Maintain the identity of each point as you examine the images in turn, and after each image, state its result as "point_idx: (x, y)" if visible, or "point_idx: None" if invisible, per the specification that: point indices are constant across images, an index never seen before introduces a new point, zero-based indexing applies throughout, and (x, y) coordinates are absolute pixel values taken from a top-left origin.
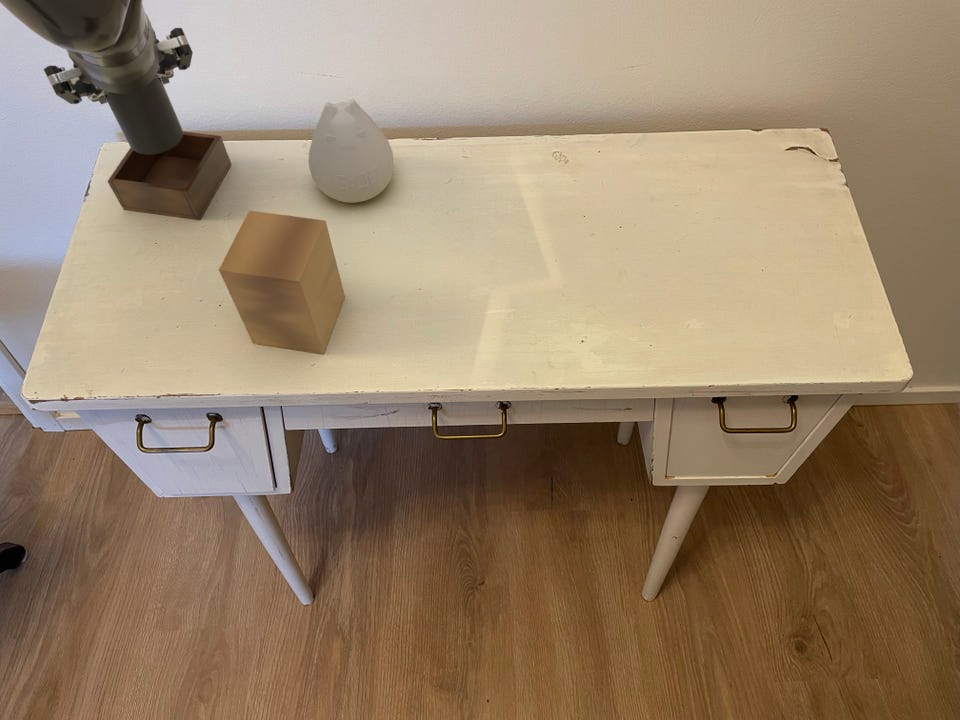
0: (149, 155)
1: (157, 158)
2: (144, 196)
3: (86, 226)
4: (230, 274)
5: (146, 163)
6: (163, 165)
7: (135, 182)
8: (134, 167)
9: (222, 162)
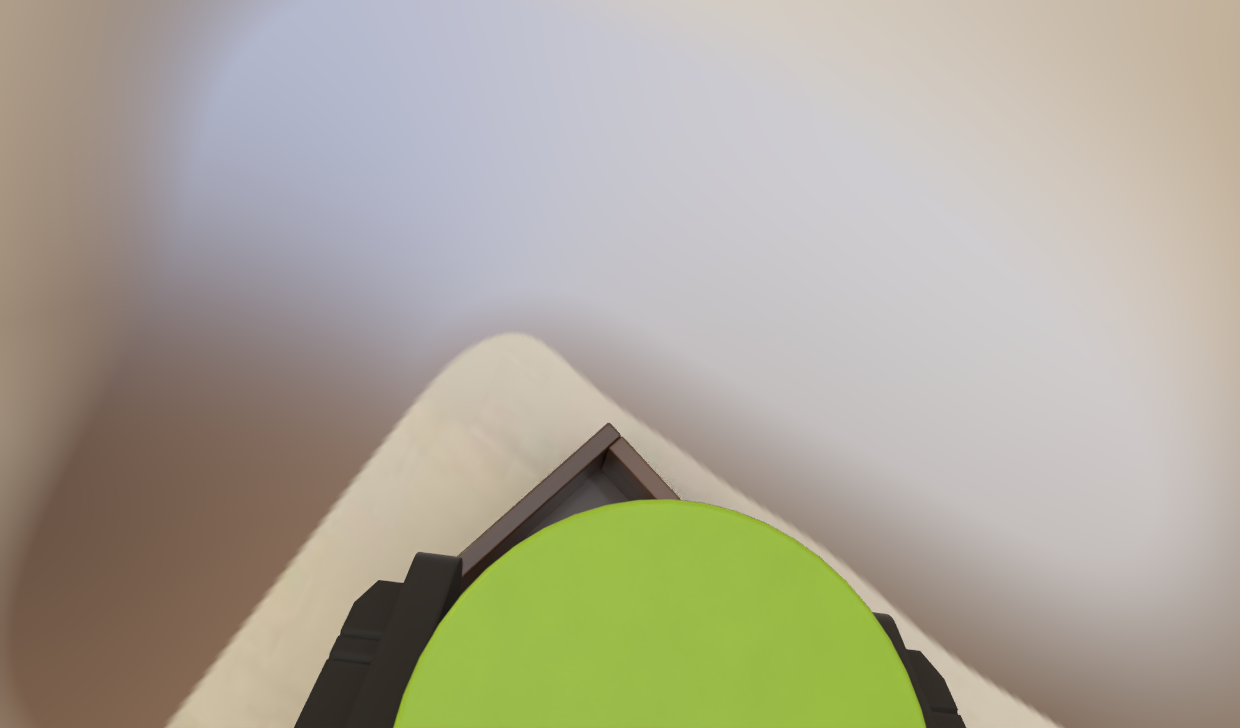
0: (566, 494)
1: (588, 481)
2: None
3: (237, 648)
4: None
5: (540, 519)
6: None
7: None
8: (486, 564)
9: None
